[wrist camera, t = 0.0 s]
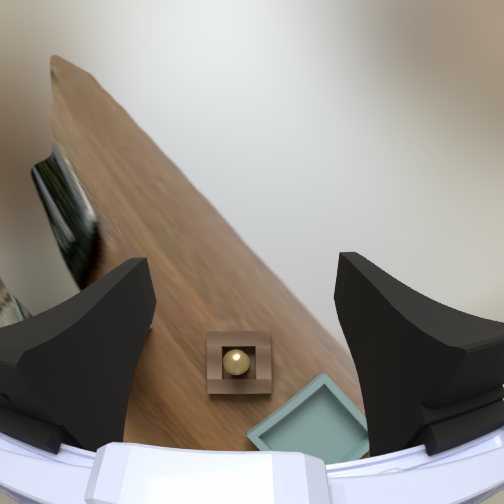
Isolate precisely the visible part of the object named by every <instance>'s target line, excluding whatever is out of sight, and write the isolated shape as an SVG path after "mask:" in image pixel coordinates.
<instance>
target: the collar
mask: <svg viewBox="0 0 504 504" xmlns="http://www.w3.org/2000/svg"><path fill="white" fill-rule="evenodd" d="M223 347H256V379H223ZM207 393H208V394H261V393H272V375H271V341H270V331H238V332H207Z"/></svg>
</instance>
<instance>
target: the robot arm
mask: <svg viewBox="0 0 504 504" xmlns="http://www.w3.org/2000/svg"><path fill="white" fill-rule="evenodd" d="M334 301H335V306H336V311H337V314H338V319H339V322H340V325H341V327H342V330H343V333H344V336H345V338H346V341H347V344H348V347H349V349H350V352H351V355H352V358H353V360H354V363H355V366H356V370H357V373H358V377H359V382H360V387H361V392H362V397H363V403H364V409H365V415H366V422H367V430H368V438H369V450H370V458H366V459H360V460H355V461H349V462H343V463H336V464H329V465H325V463H324V461H323V460H321V459H319V458H317V457H314V456H311V455H307V454H304V453H301V452H282V451H249V452H234V451H204V450H189V449H177V448H167V447H158V446H150V445H143V444H137V443H123V435H124V425H125V416H126V410H127V403H128V397H129V392H130V387H131V383H132V378H133V374H134V371H135V367H136V365H137V362H138V359H139V356H140V354H141V351H142V348H143V345H144V343H145V340H146V337H147V335H148V332H149V329H150V326H151V324H152V320H153V315H154V311H155V306H156V298H155V293H154V289H153V285H152V280H151V276H150V271H149V267H148V262H147V258H131V259H129V260H127V261H125V262H124V263H122V264H121V265H119V266H118V267H116V268H115V269H113V270H112V271H110V272H109V273H108V274H106V275H105V276H103V277H102V278H100V279H99V280H98V281H96V282H95V283H93V284H92V285H90V286H89V287H87V288H86V289H84V290H82V291H81V292H79V293H78V294H76V295H75V296H73V297H72V298H70V299H68V300H66V301H64V302H63V303H61V304H59V305H57V306H55V307H53V308H51V309H49V310H47V311H45V312H42V313H40V314H38V315H36V316H33V317H31V318H29V319H26V320H23V321H21V322H18V323H15V324H12V325H8V326H5V327H1V328H0V492H1V493H3V494H4V495H6V496H8V497H10V498H11V499H13V500H15V501H17V502H19V503H20V504H479V503H481V502H483V501H485V500H486V499H488V498H490V497H492V496H493V495H495V494H497V493H498V492H500V491H502V490H504V401H503V399H502V398H504V388H503V386H502V385H503V384H504V323H503V322H498V321H493V320H489V319H484V318H480V317H477V316H474V315H470V314H467V313H464V312H461V311H458V310H456V309H453V308H451V307H448V306H446V305H443V304H441V303H439V302H437V301H434V300H432V299H430V298H428V297H426V296H424V295H422V294H420V293H419V292H417V291H415V290H413V289H411V288H410V287H408V286H407V285H405V284H403V283H402V282H400V281H398V280H397V279H395V278H394V277H392V276H391V275H389V274H388V273H386V272H385V271H383V270H382V269H380V268H379V267H378V266H376V265H375V264H373V263H372V262H370V261H369V260H367V259H366V258H364V257H363V256H361V255H360V254H358V253H356V252H340V253H339V262H338V271H337V278H336V285H335V292H334Z"/></svg>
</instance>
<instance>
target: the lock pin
mask: <svg viewBox="0 0 504 504" xmlns="http://www.w3.org/2000/svg"><path fill="white" fill-rule="evenodd" d="M223 366H224V368H225V370H226V371H227V372H228V373H230V374H233V375H240V374H242V373H244V372H246V371H247V370H248V369H249V367H250V359H249V357H248V356H247V355H246V354H245V353H244V352H243V351H241V350H231V351H229V352H228V353H227V354H226V355H225V356H224V359H223Z"/></svg>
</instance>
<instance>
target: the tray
mask: <svg viewBox="0 0 504 504" xmlns="http://www.w3.org/2000/svg"><path fill="white" fill-rule="evenodd" d="M247 437H248V438H249V439H250V440H251V441H252V442H253V443H254V444H255V445H256V447H257V448H258V449H259V450H260V451H282V452H301V453H304V454H307V455H311V456H314V457H317V458H319V459H321V460H323V461H324V463H325V465H329V464H336V463H343V462H349V461H355V460H359V459H360V458H361V457H362V456H363V455H364V454H365V453H367V452H368V451H369V438H368V430H367V422H366V418H365V417H364V415H363V414H362V413H361V412H360V411H359V410H358V409H357V408H356V407H355V406H354V404H353V403H352V402H351V401H350V400H349V399H348V398H347V397H346V396H345V394H344V393H343V392H342V391H341V390H340V389H339V388H338V387H337V385H336V384H335V383H334V382H333V381H332V380H331V379H330V378H329V376H328V375H327V374H326V373H320V374H318V375H317V376H316V377H315V378H314V379H313V380H312V381H310V382H309V383H308V384H307V385H306V386H305V387H303V388H302V389H301V390H300V391H299V392H297V393H296V394H295V395H294V396H292V397H291V398H290V399H289V400H288V401H286V402H285V403H284V404H283V405H281V406H280V407H279V408H278V409H276V410H275V411H274V412H272V413H271V414H270V415H269V416H267V417H266V418H265V419H263V420H262V421H261V422H259V423H258V424H257V425H255V426H254V427H253V428H251V429H250V430H248V431H247Z"/></svg>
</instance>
